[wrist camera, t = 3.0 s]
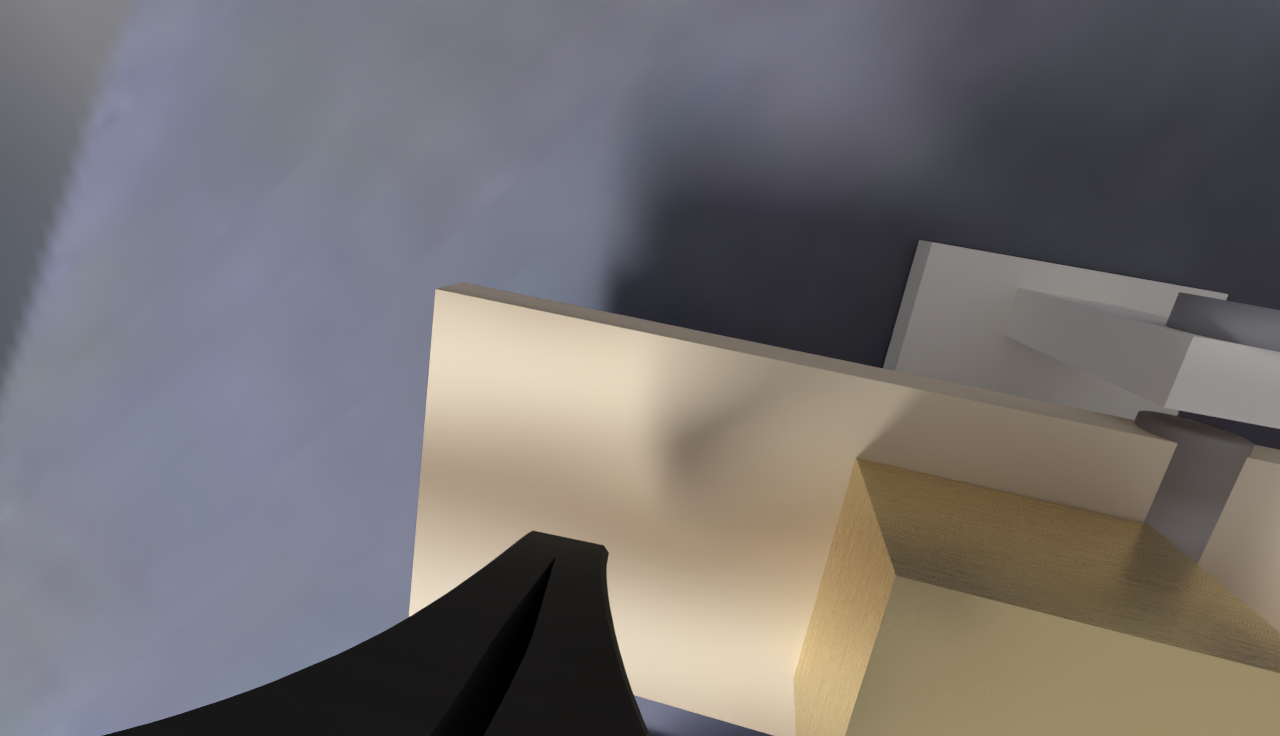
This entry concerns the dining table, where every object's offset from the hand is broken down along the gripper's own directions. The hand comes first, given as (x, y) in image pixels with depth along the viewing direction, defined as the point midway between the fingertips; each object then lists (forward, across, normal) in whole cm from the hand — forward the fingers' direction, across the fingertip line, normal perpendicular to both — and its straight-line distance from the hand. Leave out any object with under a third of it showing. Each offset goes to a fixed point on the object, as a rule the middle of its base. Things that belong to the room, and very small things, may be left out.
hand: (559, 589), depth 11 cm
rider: (+2, -7, 0) cm, 8 cm away
